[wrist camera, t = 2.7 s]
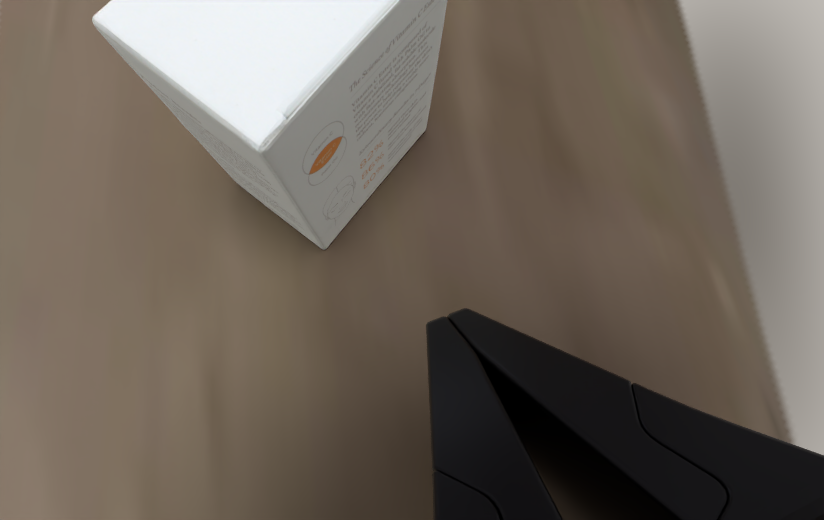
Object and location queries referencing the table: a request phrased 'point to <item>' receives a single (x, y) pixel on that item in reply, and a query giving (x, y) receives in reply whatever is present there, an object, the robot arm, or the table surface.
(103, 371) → the table surface
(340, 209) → the small box
